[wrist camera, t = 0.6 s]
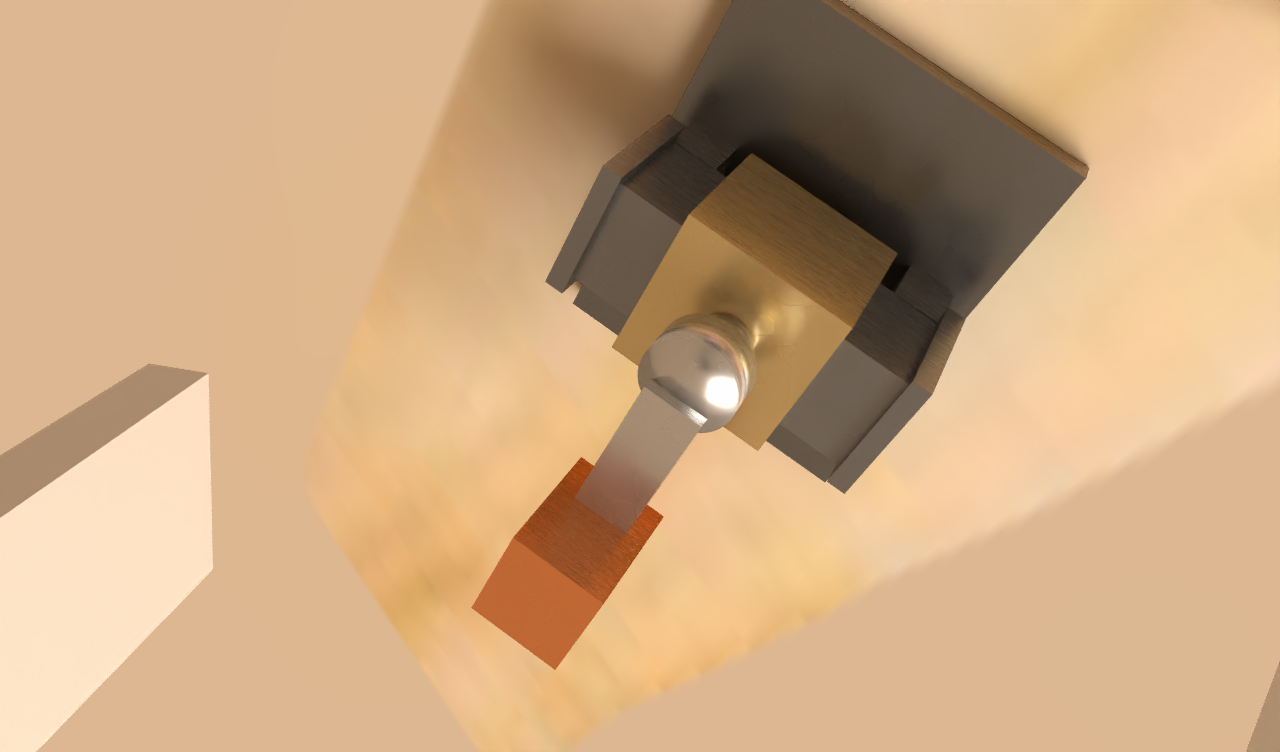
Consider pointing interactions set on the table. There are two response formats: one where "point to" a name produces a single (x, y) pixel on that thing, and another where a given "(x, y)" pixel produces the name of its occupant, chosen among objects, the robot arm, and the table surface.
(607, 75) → the table surface
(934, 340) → the valve body
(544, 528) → the valve lever
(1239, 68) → the table surface
